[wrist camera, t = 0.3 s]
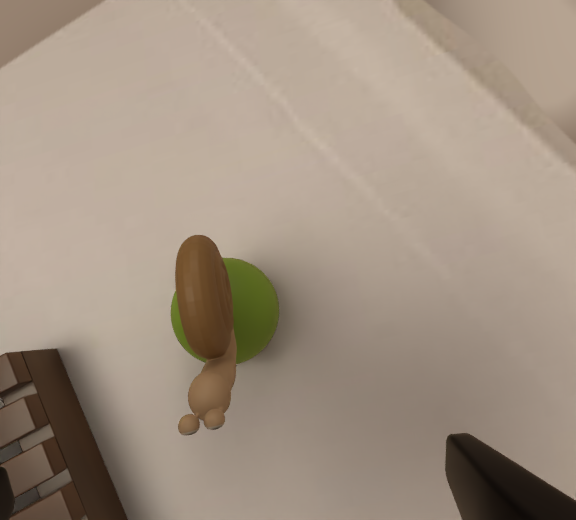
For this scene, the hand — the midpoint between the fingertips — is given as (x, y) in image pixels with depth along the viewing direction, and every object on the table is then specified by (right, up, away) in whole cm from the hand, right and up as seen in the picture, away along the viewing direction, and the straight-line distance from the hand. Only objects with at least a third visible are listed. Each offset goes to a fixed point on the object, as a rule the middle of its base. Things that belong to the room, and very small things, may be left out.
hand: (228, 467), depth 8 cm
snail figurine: (-2, +1, +14) cm, 14 cm away
